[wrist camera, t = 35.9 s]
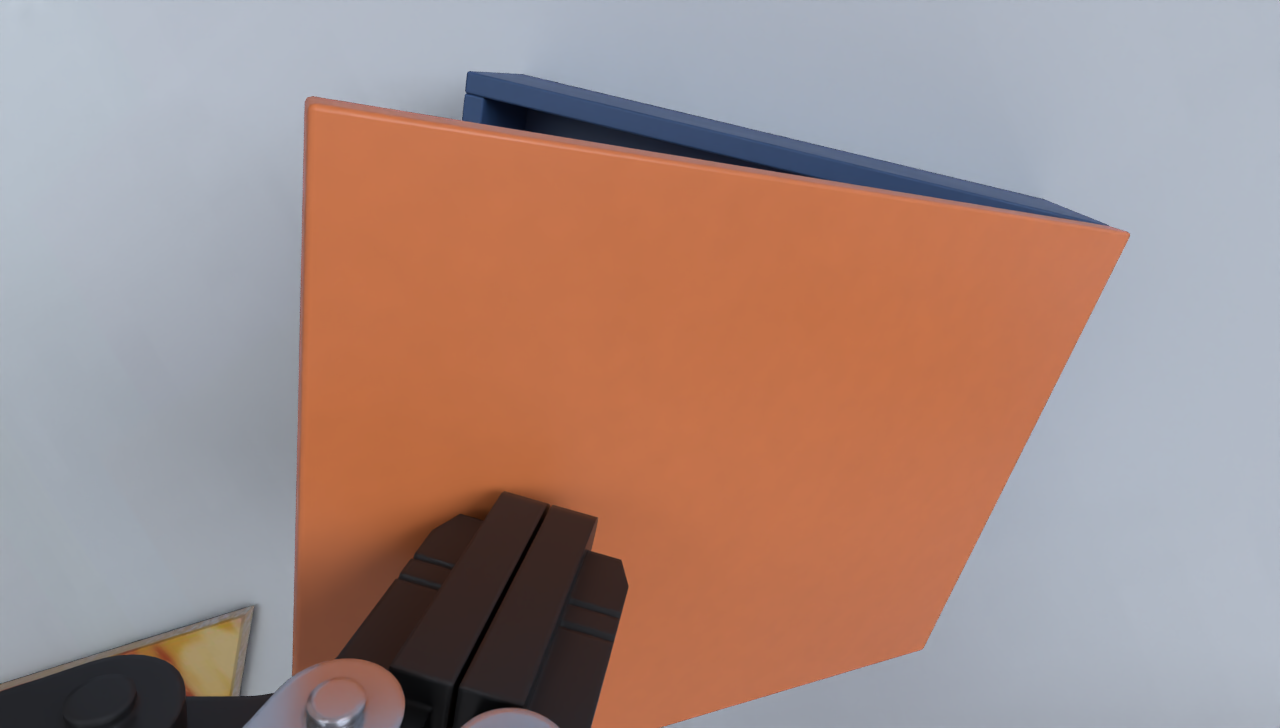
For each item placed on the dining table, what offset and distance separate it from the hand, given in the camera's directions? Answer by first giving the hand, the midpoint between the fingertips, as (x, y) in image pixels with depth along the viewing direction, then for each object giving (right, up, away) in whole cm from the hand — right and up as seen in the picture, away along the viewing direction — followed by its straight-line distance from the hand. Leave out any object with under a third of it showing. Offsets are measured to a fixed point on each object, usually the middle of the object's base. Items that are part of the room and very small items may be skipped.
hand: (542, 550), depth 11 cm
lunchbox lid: (+4, +1, +3) cm, 5 cm away
